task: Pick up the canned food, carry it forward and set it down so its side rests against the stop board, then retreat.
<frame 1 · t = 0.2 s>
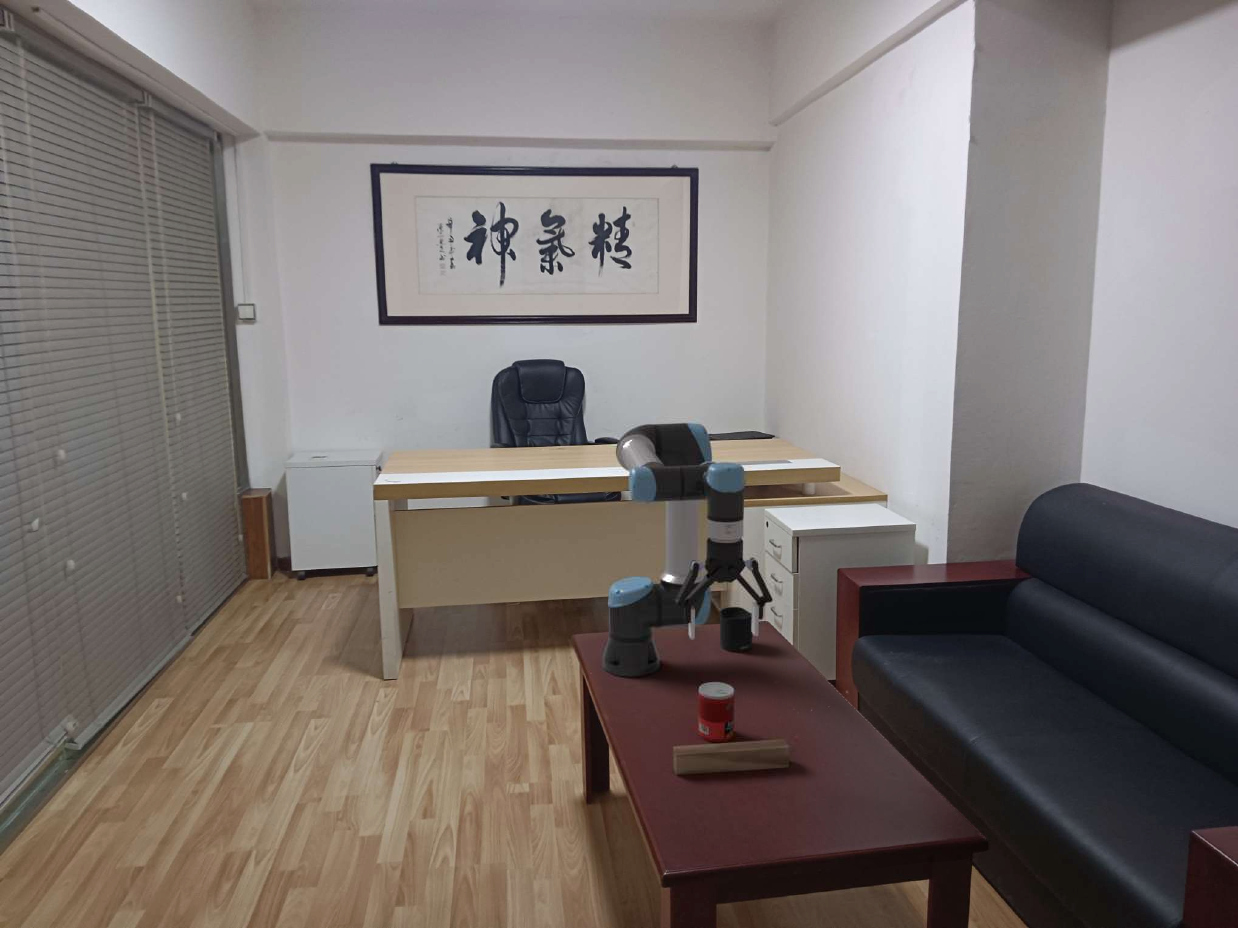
hand: (723, 635, 188), 27 cm above the table, fingers open, 13 cm apart
board: (730, 766, 188), on the table
pen holder: (736, 647, 251), on the table
canned food: (715, 735, 201), on the table
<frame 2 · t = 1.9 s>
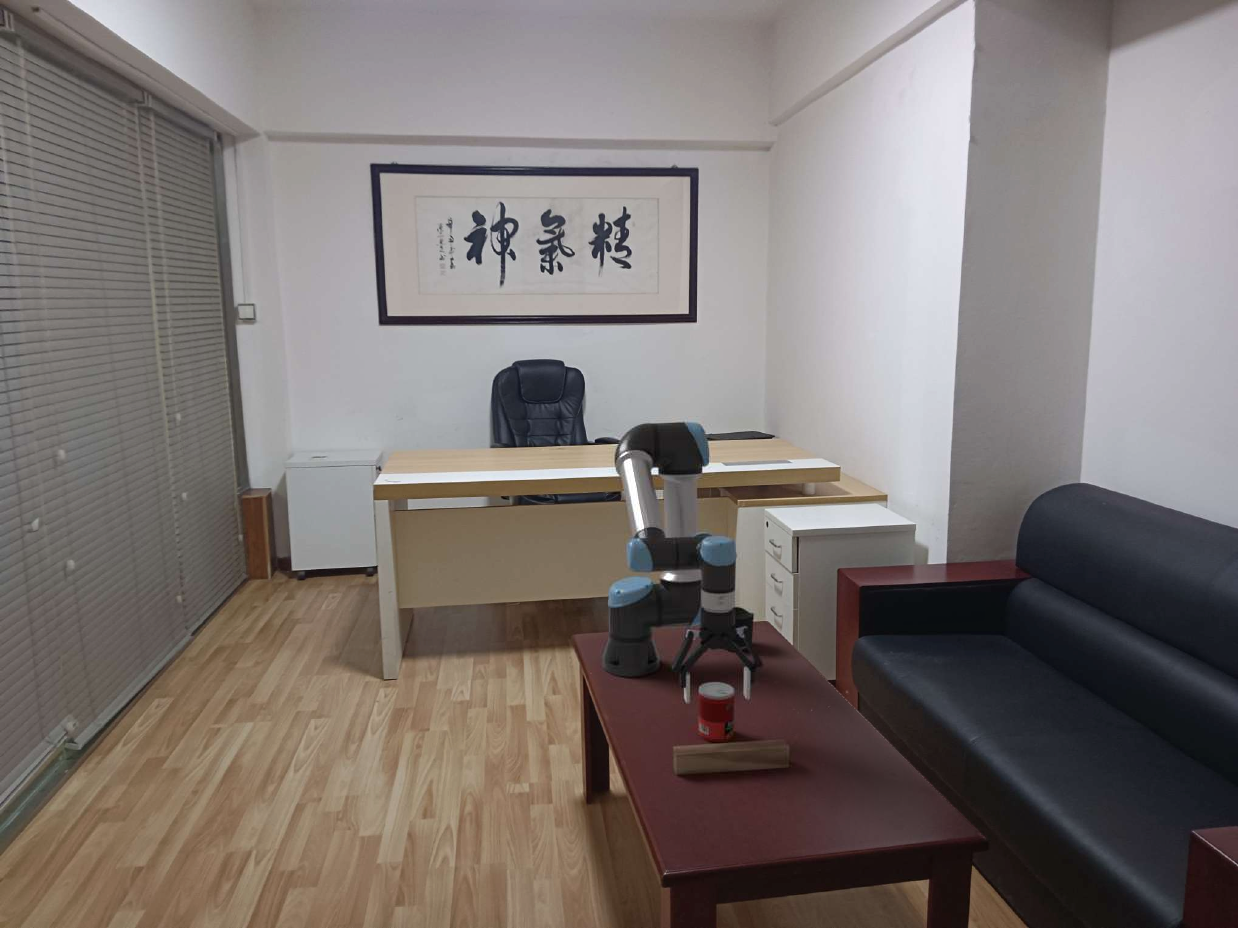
hand: (716, 698, 199), 9 cm above the table, fingers open, 13 cm apart
nothing on the table moved.
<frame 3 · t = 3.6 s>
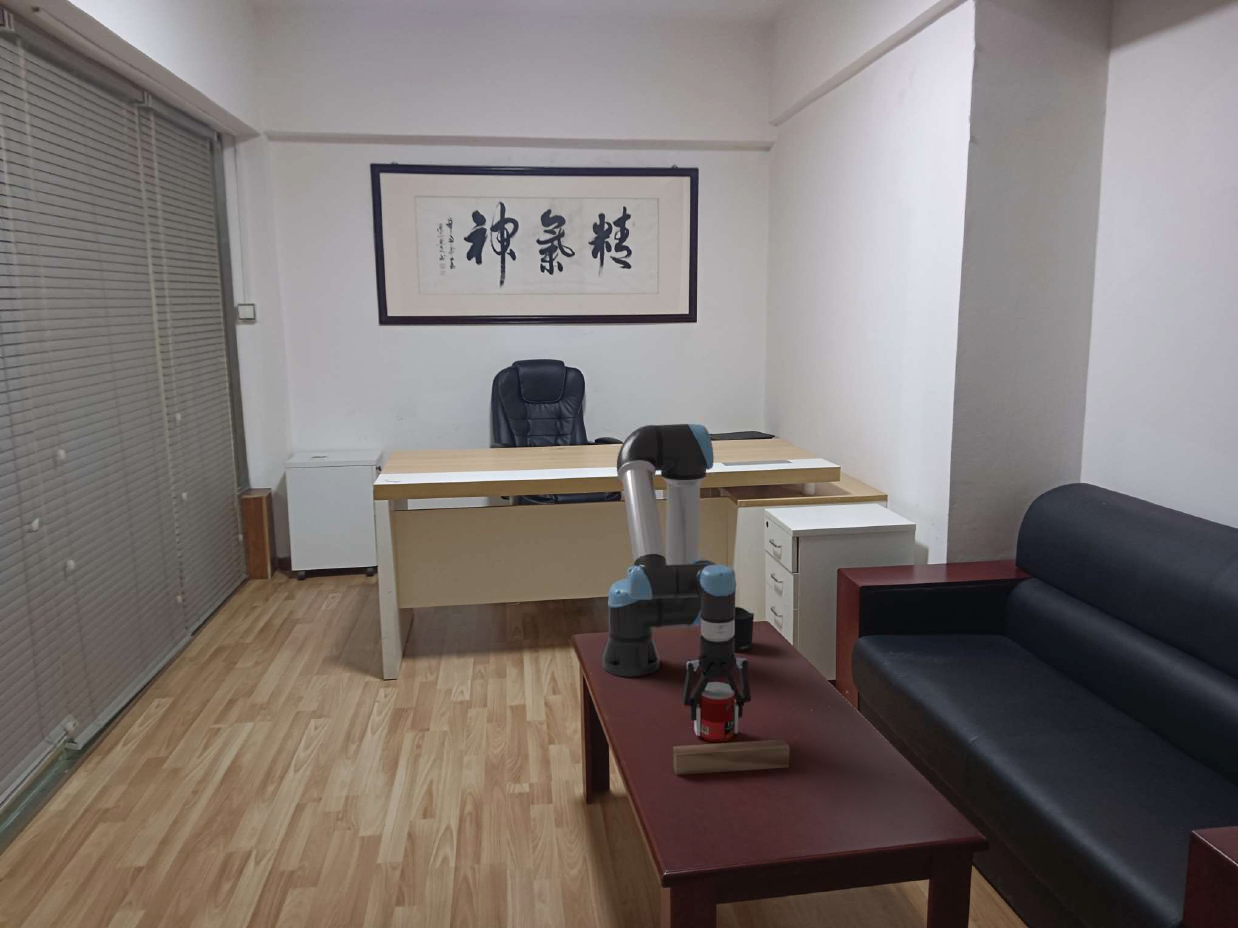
hand: (716, 731, 201), 1 cm above the table, fingers closed on canned food, 8 cm apart
canned food: (715, 735, 201), on the table, touching gripper
everything else where it was.
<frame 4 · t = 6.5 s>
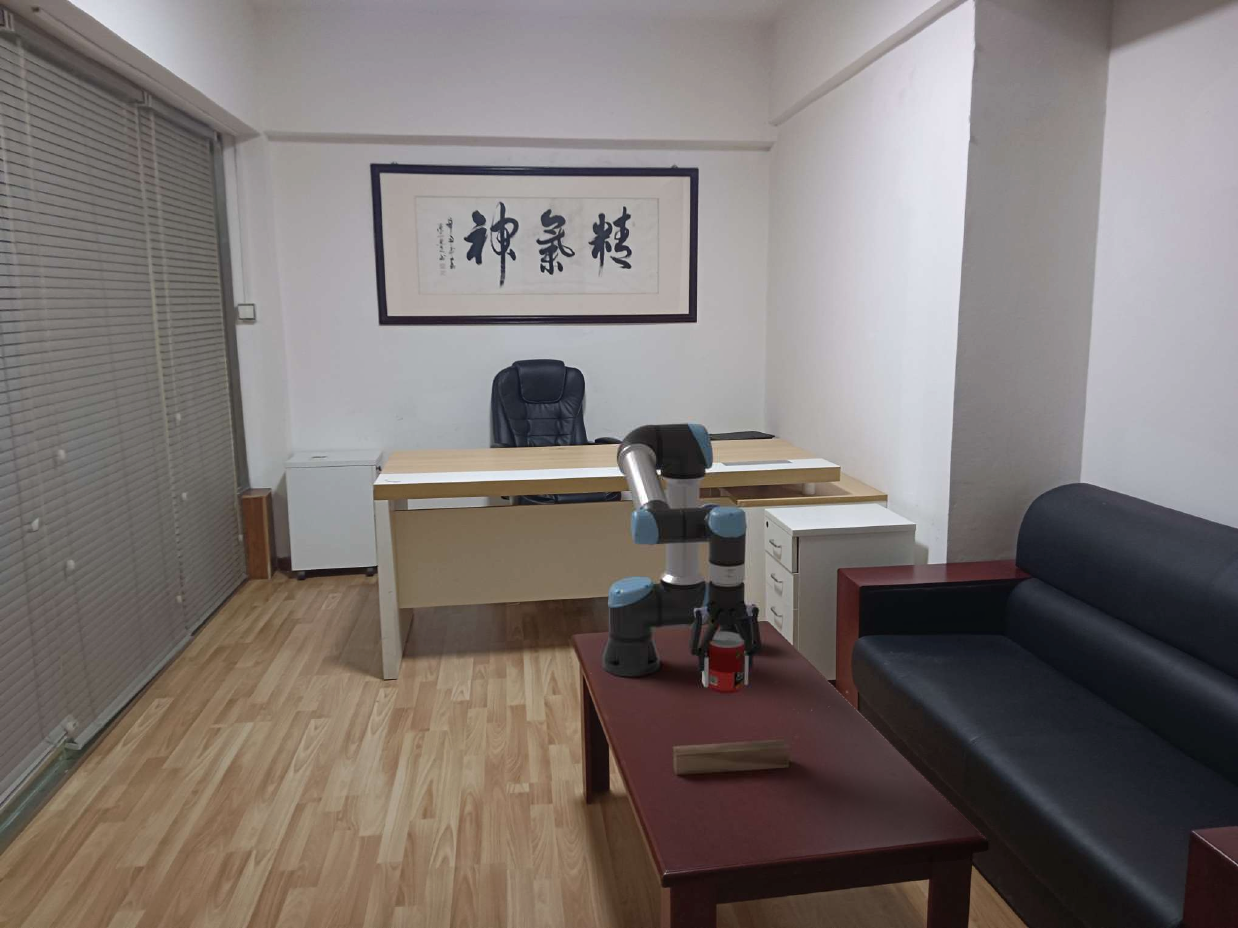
hand: (724, 683, 191), 16 cm above the table, fingers closed on canned food, 8 cm apart
canned food: (724, 687, 191), point 15 cm above the table, touching gripper
everything else where it was.
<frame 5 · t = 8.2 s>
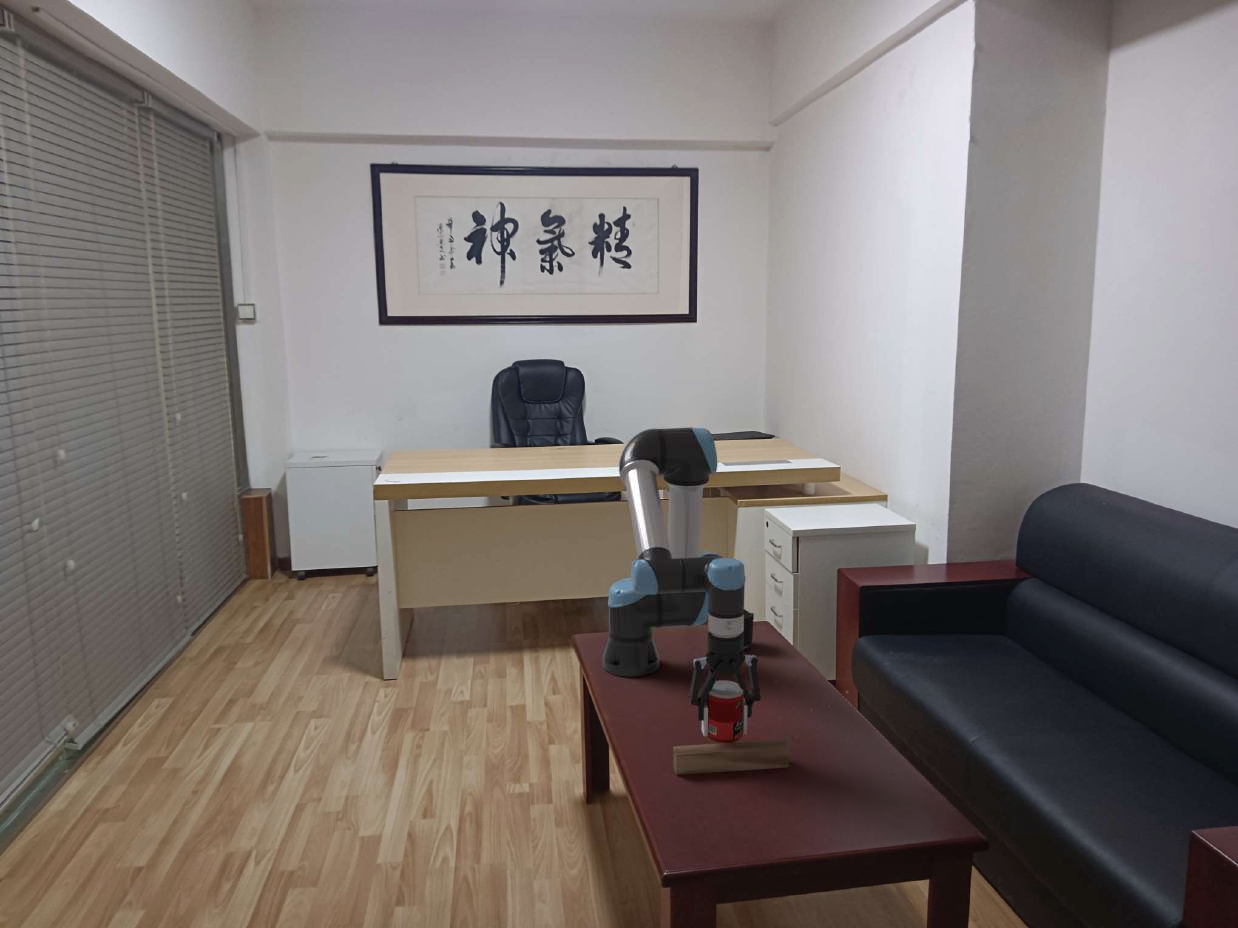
hand: (724, 731, 193), 5 cm above the table, fingers closed on canned food, 8 cm apart
canned food: (724, 735, 193), point 4 cm above the table, touching gripper
everything else where it was.
when the fingers open (2 cm above the table, at t = 9.7 s): canned food stays where it is, on the table.
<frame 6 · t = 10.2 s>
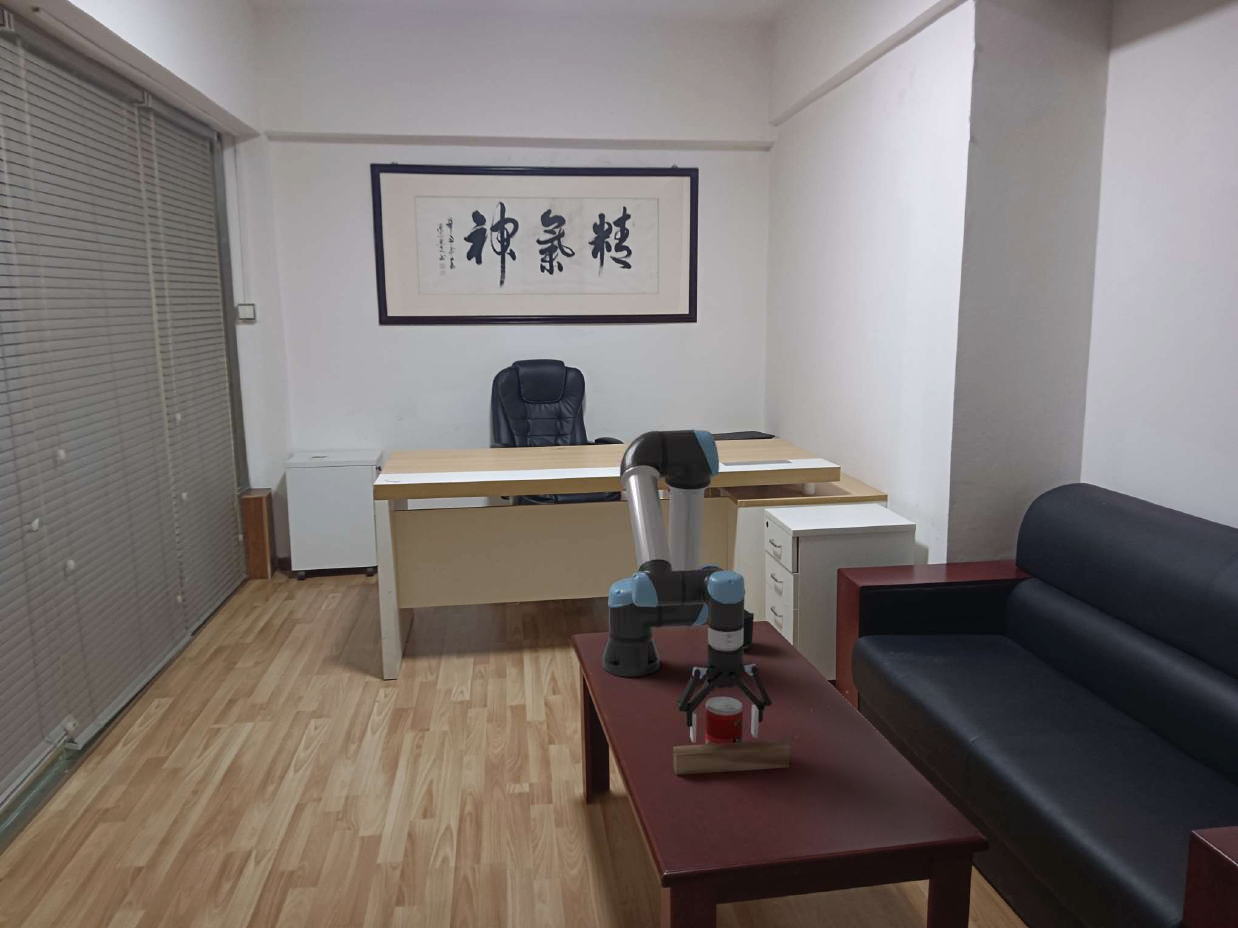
hand: (723, 737, 193), 3 cm above the table, fingers open, 13 cm apart
canned food: (723, 751, 194), on the table
everything else where it was.
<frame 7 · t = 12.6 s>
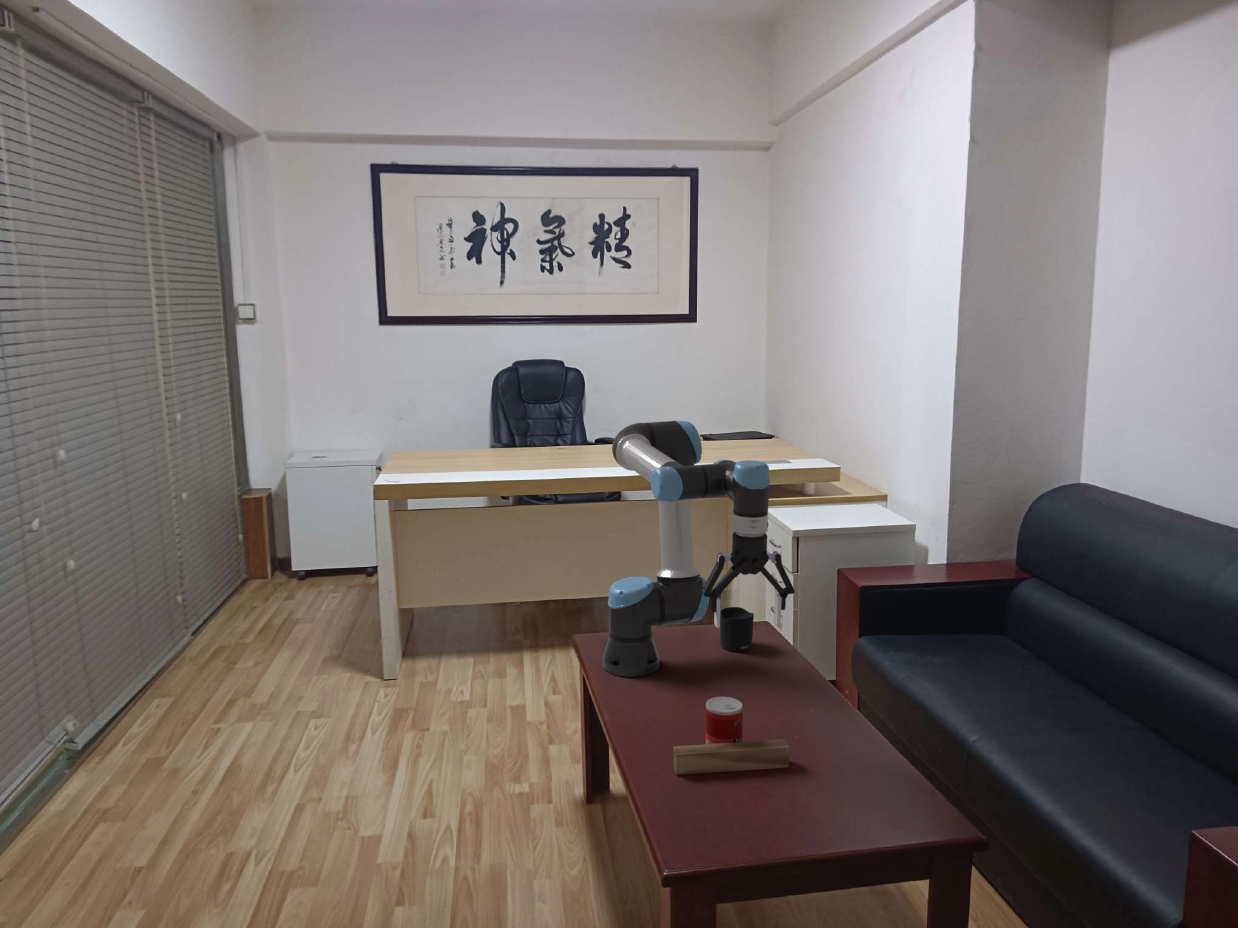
hand: (747, 624, 198), 25 cm above the table, fingers open, 13 cm apart
nothing on the table moved.
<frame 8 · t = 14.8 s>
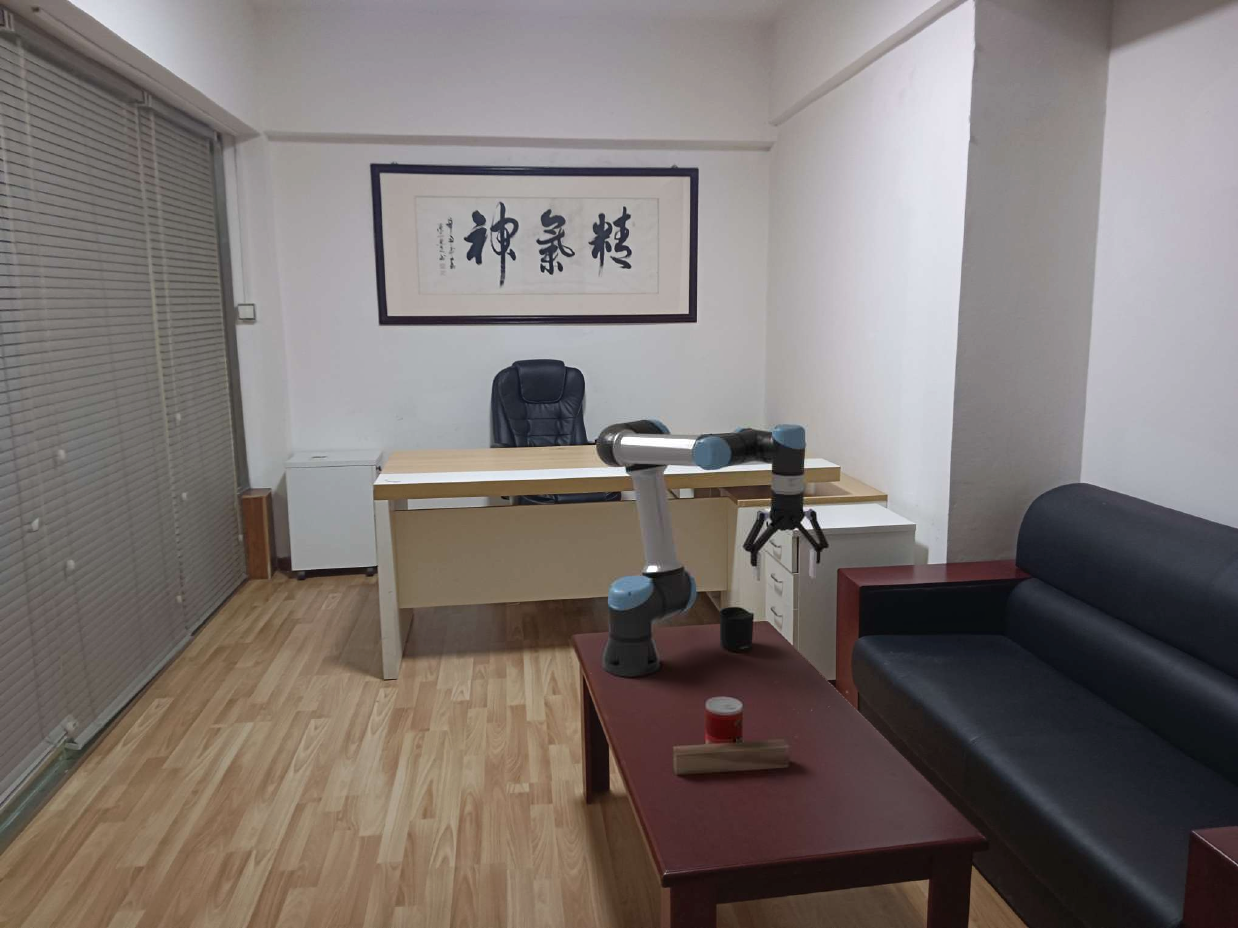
hand: (784, 577, 213), 31 cm above the table, fingers open, 13 cm apart
nothing on the table moved.
at the end: canned food inside the target area on the table beside the board (0.0 cm from its centre), on the table; canned food tilted 0° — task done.
